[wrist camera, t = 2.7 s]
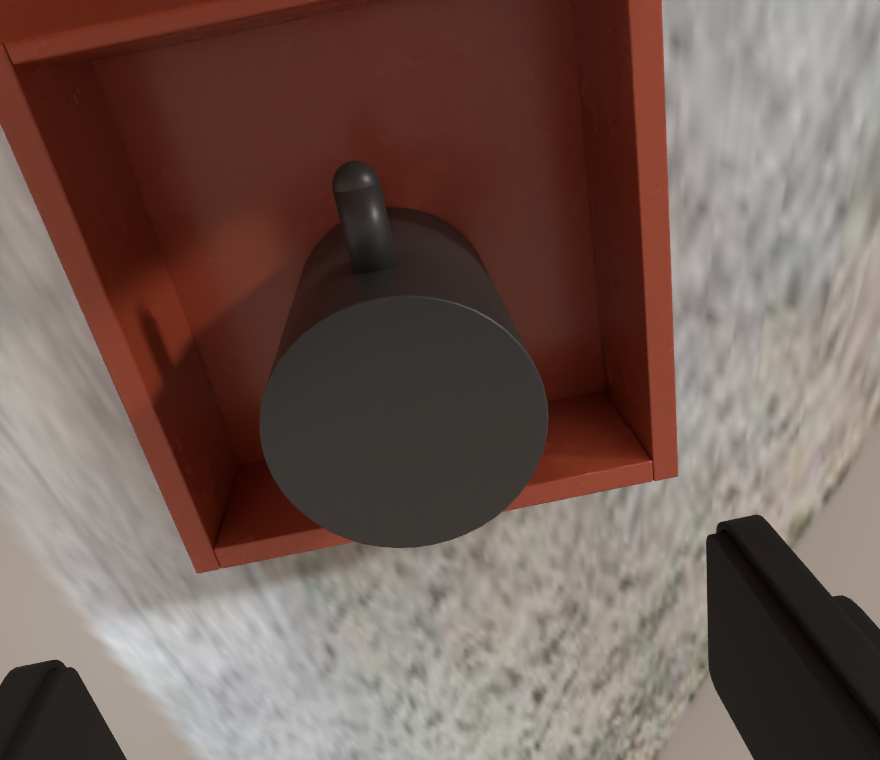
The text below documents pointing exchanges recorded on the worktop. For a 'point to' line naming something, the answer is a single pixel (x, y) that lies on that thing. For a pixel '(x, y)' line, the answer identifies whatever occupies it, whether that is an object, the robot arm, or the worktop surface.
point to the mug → (399, 381)
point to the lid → (71, 14)
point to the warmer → (315, 213)
